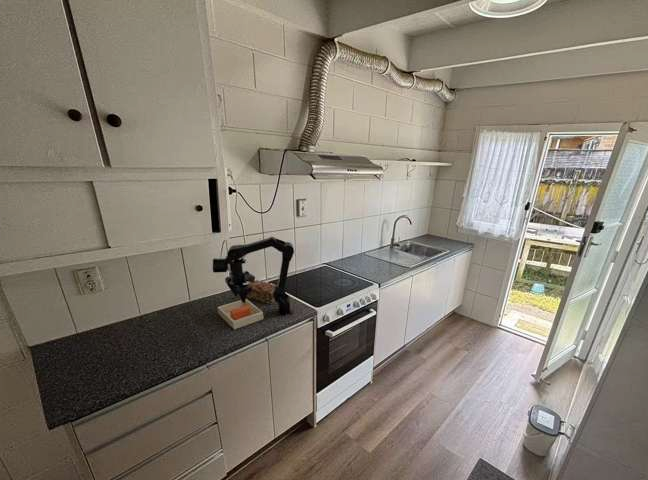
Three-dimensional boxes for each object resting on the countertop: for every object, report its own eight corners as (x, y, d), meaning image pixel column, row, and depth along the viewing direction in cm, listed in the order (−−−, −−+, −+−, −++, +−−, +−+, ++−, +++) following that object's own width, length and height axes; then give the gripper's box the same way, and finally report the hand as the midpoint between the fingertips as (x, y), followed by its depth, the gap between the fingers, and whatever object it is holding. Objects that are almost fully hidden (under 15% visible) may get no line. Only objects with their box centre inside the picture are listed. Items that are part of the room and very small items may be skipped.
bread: (246, 298, 175) (244, 283, 171) (258, 291, 184) (256, 277, 181) (272, 305, 169) (270, 290, 165) (283, 298, 178) (282, 283, 174)
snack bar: (250, 315, 158) (250, 308, 156) (234, 320, 152) (233, 313, 150) (247, 312, 160) (246, 305, 159) (230, 317, 154) (229, 310, 153)
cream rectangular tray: (263, 319, 155) (263, 312, 153) (234, 330, 145) (233, 322, 143) (246, 305, 168) (246, 298, 166) (218, 314, 157) (217, 306, 155)
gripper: (260, 273, 146) (263, 301, 152) (244, 262, 158) (247, 289, 165) (238, 278, 139) (241, 308, 145) (223, 267, 151) (226, 294, 157)
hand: (239, 299), depth 153 cm, fingers open, 9 cm apart
